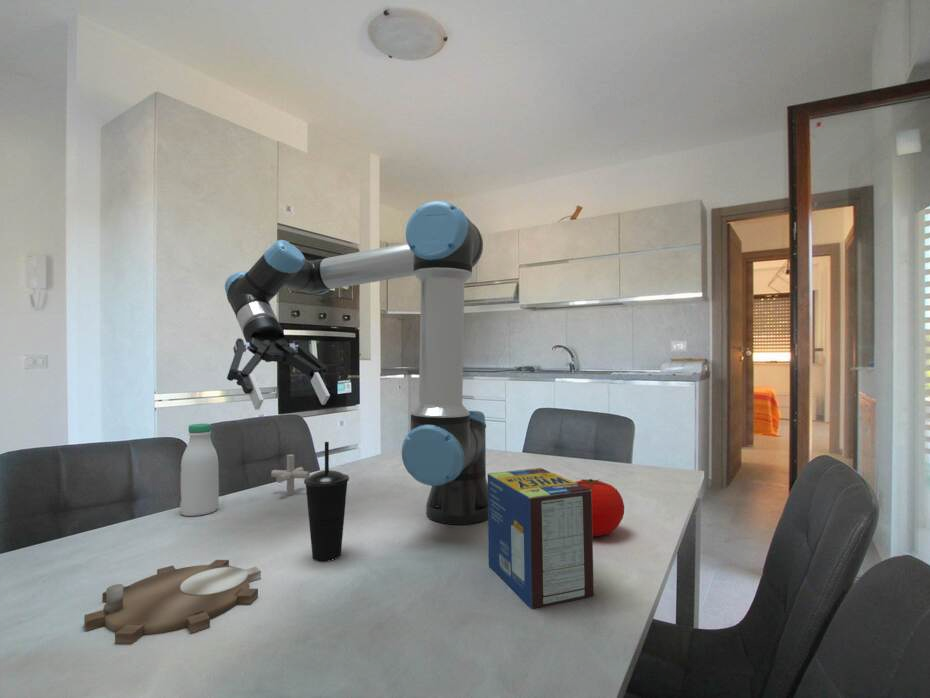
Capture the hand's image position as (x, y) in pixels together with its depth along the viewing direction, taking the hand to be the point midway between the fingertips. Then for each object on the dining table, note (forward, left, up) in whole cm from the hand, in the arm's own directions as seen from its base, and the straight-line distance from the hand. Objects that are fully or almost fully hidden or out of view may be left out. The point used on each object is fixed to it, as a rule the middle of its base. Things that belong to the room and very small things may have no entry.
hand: (294, 402), depth 93 cm
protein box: (-45, +15, -27) cm, 54 cm away
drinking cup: (-9, +7, -27) cm, 29 cm away
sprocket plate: (+7, +23, -26) cm, 36 cm away
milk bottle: (+29, -17, -27) cm, 43 cm away
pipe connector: (+14, -32, -27) cm, 44 cm away
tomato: (-58, -6, -27) cm, 64 cm away
